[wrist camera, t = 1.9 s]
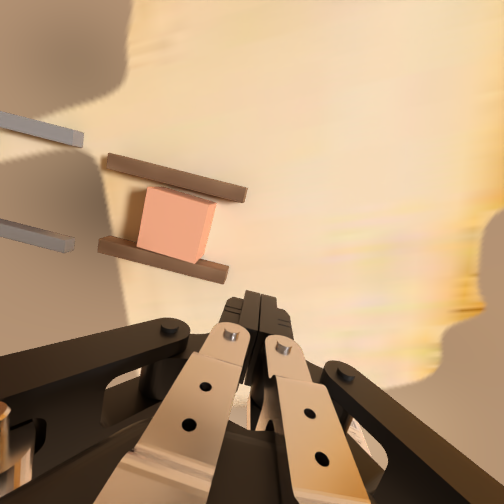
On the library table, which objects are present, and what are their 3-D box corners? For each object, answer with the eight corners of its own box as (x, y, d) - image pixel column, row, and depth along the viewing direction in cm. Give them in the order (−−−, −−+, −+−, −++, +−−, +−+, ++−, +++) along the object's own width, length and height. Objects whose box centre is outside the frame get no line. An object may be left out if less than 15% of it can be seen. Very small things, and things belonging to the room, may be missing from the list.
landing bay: (-32, 103, 28) (-49, 98, 26) (83, 132, 28) (73, 129, 26) (-30, 223, 31) (-45, 225, 29) (73, 250, 31) (64, 253, 29)
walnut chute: (119, 155, 28) (108, 152, 26) (247, 188, 28) (246, 188, 26) (108, 248, 31) (97, 252, 29) (226, 278, 31) (223, 284, 29)
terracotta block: (164, 186, 29) (147, 186, 25) (217, 202, 29) (209, 205, 25) (153, 238, 30) (136, 246, 26) (204, 254, 30) (194, 263, 26)
